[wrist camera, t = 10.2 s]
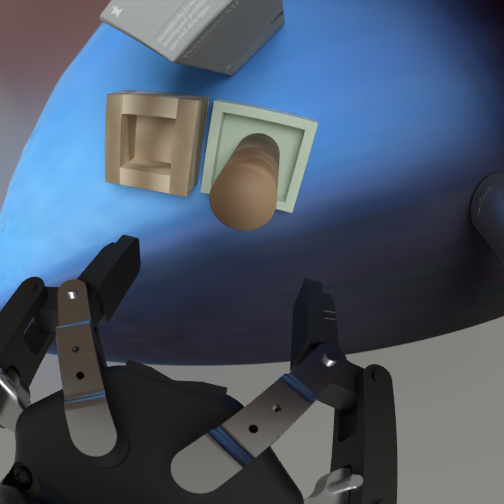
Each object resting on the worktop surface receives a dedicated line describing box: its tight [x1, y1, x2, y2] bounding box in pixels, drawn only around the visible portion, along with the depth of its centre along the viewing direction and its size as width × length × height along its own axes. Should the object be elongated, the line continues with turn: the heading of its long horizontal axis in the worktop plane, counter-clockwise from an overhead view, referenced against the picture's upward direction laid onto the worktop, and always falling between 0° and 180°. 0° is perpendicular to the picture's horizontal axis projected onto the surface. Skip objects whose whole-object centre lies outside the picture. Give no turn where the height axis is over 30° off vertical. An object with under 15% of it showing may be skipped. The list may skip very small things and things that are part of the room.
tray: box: [201, 99, 318, 213], centre depth 28 cm, size 10×10×2 cm
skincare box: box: [100, 0, 285, 76], centre depth 15 cm, size 8×7×16 cm
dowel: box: [209, 133, 280, 230], centre depth 24 cm, size 4×4×12 cm
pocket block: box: [105, 90, 210, 197], centre depth 27 cm, size 10×10×4 cm
